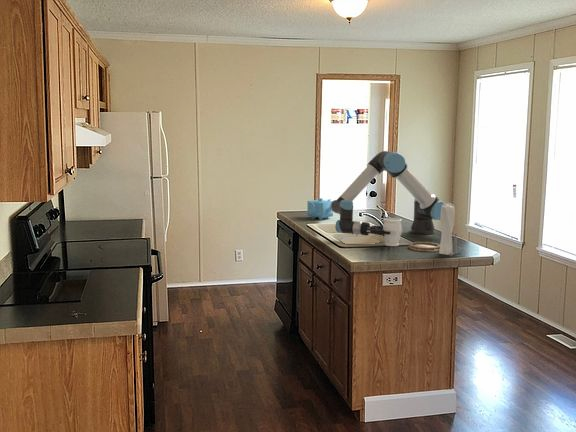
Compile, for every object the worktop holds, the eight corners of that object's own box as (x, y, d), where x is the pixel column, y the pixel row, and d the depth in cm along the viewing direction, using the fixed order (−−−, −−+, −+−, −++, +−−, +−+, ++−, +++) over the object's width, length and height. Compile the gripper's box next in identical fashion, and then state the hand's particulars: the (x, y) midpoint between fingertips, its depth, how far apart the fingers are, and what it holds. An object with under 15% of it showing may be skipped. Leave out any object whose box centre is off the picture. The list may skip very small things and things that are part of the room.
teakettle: (305, 216, 446) (306, 196, 444) (331, 216, 448) (331, 196, 446) (309, 220, 427) (309, 200, 425) (335, 220, 429) (336, 200, 427)
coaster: (413, 244, 348) (413, 240, 347) (443, 247, 340) (443, 243, 340) (405, 249, 333) (405, 246, 332) (436, 252, 325) (436, 249, 325)
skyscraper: (449, 256, 318) (452, 203, 314) (435, 254, 323) (438, 202, 319) (457, 254, 324) (459, 201, 320) (443, 251, 330) (445, 200, 325)
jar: (400, 247, 339) (401, 220, 336) (381, 246, 341) (382, 219, 338) (400, 243, 349) (402, 217, 347) (382, 242, 351) (383, 217, 349)
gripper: (368, 231, 362) (404, 235, 353) (354, 238, 342) (392, 241, 332) (368, 219, 361) (405, 222, 351) (355, 224, 341) (393, 228, 331)
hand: (399, 231), depth 342 cm, fingers closed on jar, 10 cm apart
